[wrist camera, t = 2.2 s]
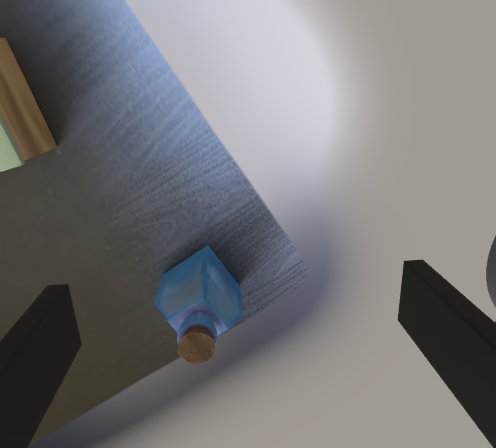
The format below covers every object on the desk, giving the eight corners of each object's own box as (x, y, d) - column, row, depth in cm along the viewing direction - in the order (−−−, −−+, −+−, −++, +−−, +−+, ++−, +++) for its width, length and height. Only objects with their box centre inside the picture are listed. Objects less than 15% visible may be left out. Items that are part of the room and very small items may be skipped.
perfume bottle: (239, 285, 45) (247, 354, 33) (195, 313, 45) (188, 389, 34) (207, 244, 43) (204, 303, 31) (162, 274, 43) (143, 342, 32)
